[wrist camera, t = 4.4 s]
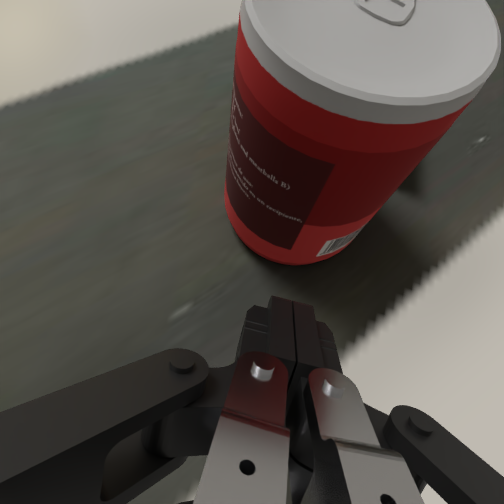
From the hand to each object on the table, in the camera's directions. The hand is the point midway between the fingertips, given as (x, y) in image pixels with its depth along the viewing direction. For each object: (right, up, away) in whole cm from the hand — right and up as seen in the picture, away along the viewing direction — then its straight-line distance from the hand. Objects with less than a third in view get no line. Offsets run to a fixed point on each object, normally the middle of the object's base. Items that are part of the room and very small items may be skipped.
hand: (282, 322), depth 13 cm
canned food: (+1, +5, +8) cm, 9 cm away
